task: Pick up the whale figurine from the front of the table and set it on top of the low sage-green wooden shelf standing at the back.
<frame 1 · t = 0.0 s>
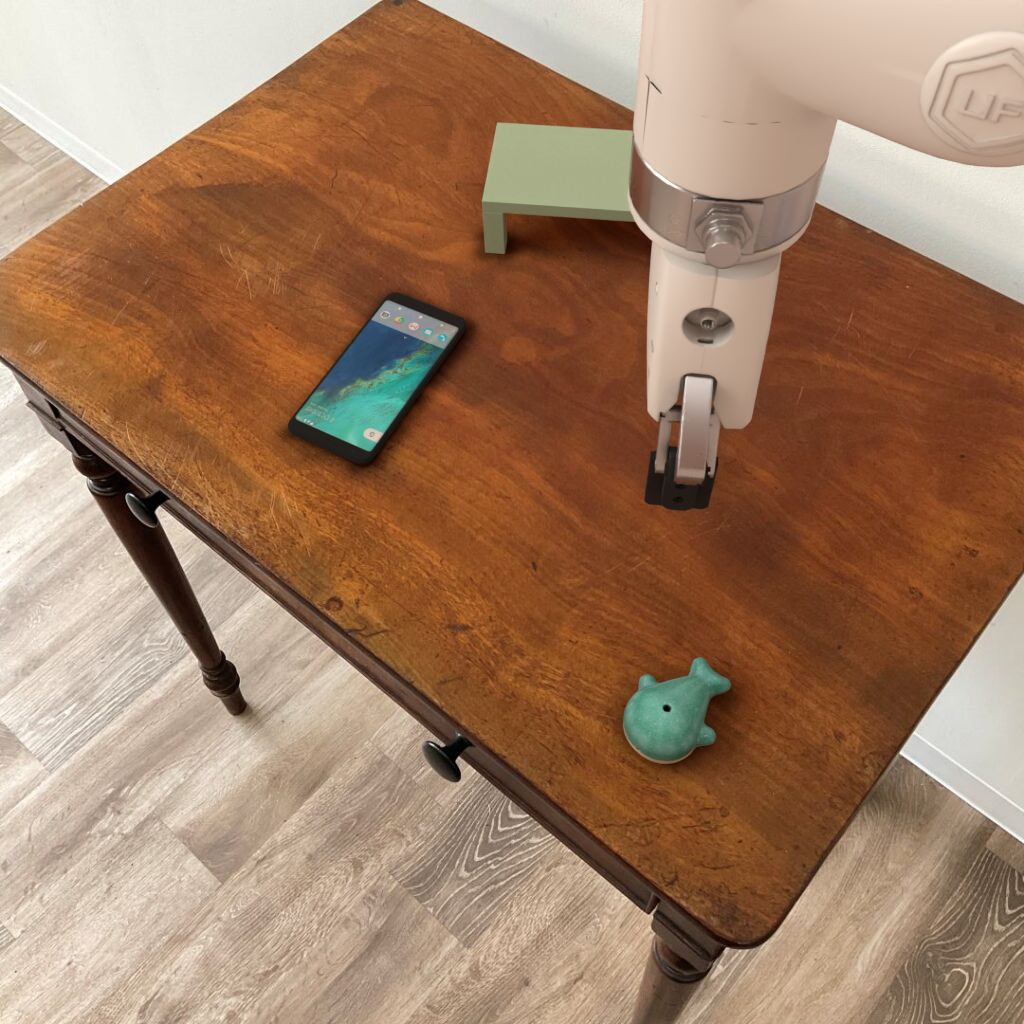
hand: (680, 424, 58), 17 cm above the table, tool pointing down, fingers open, 9 cm apart
rack: (589, 219, 90), on the table
whale figurine: (675, 717, 68), on the table
smartphone: (380, 379, 82), on the table
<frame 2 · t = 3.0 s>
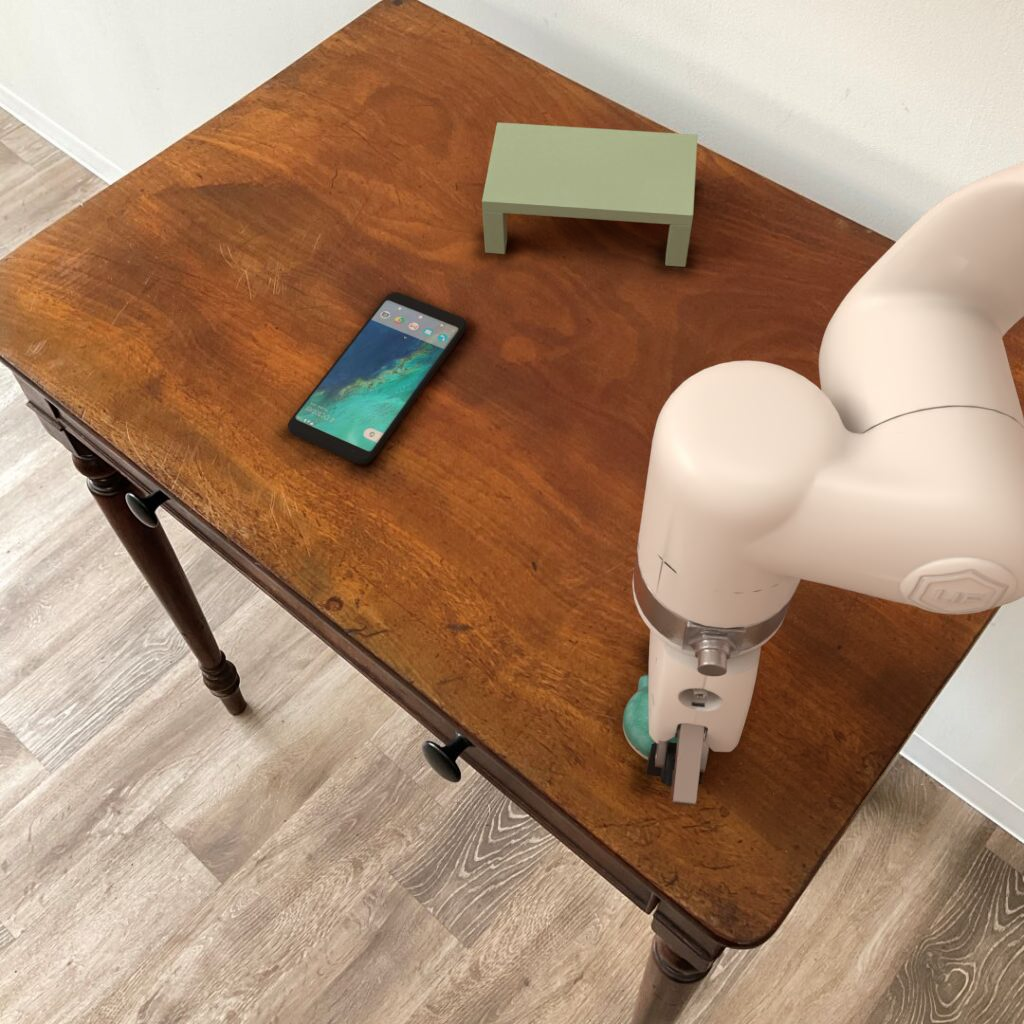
hand: (676, 711, 67), 1 cm above the table, tool pointing down, fingers closed on whale figurine, 7 cm apart
whale figurine: (675, 717, 68), on the table, touching gripper
everything else where it was.
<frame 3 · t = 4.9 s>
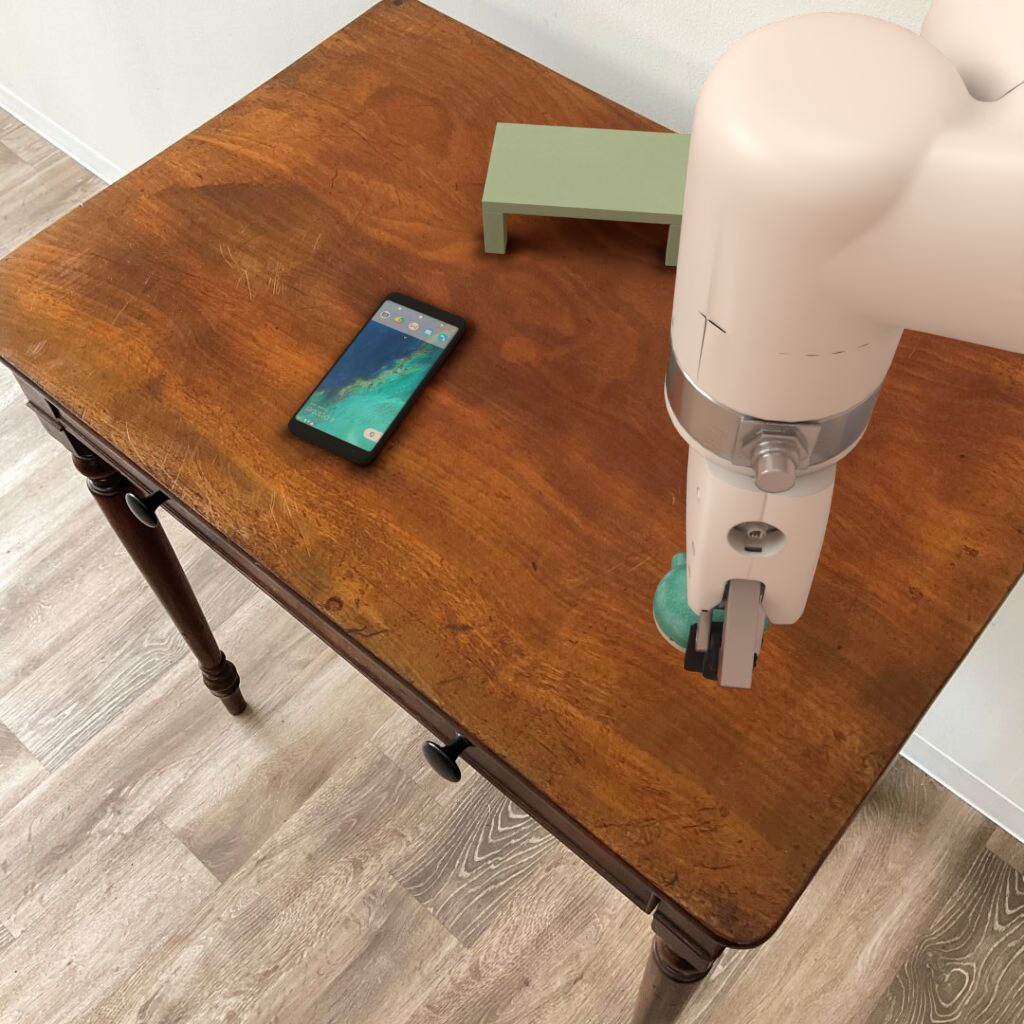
hand: (719, 595, 55), 16 cm above the table, tool pointing down, fingers closed on whale figurine, 7 cm apart
whale figurine: (717, 605, 55), point 15 cm above the table, touching gripper
everything else where it was.
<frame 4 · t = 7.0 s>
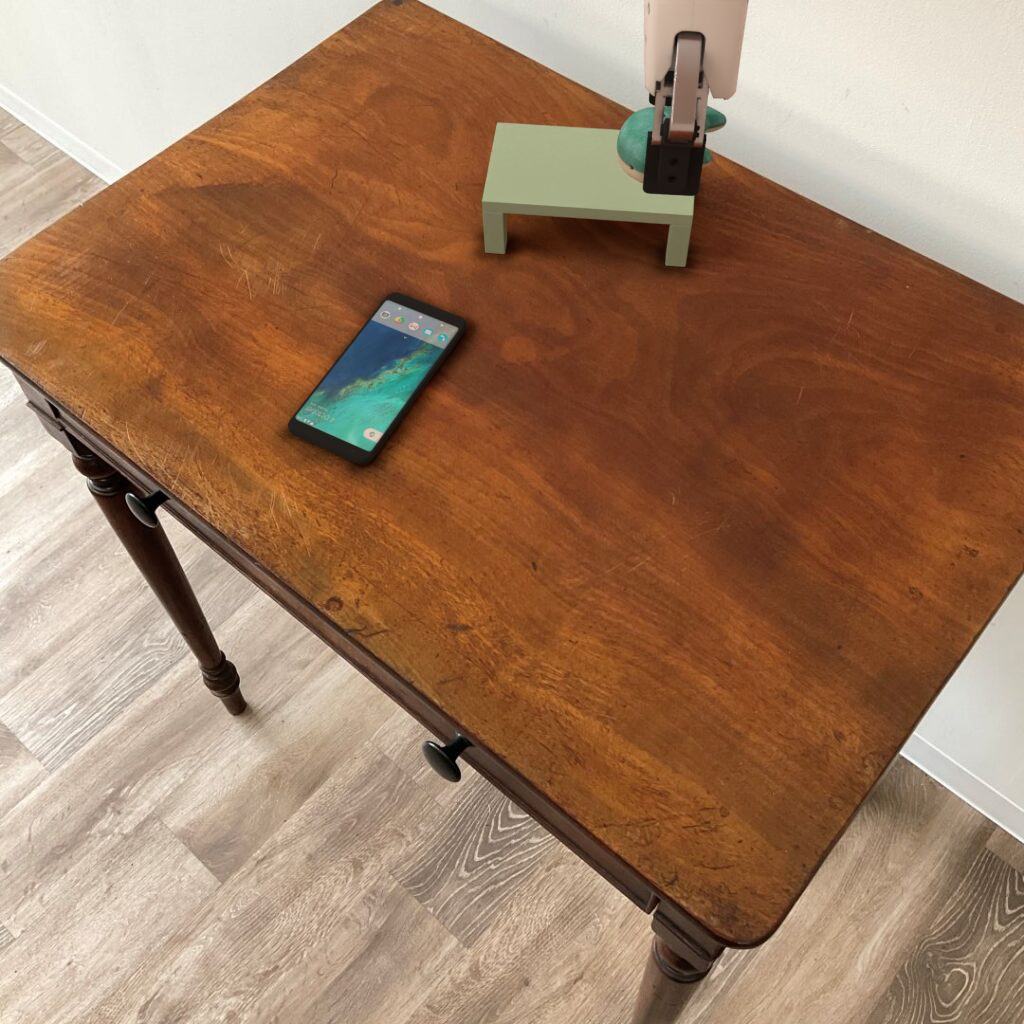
hand: (672, 144, 66), 20 cm above the table, tool pointing down, fingers closed on whale figurine, 7 cm apart
whale figurine: (670, 158, 67), point 19 cm above the table, touching gripper
everything else where it was.
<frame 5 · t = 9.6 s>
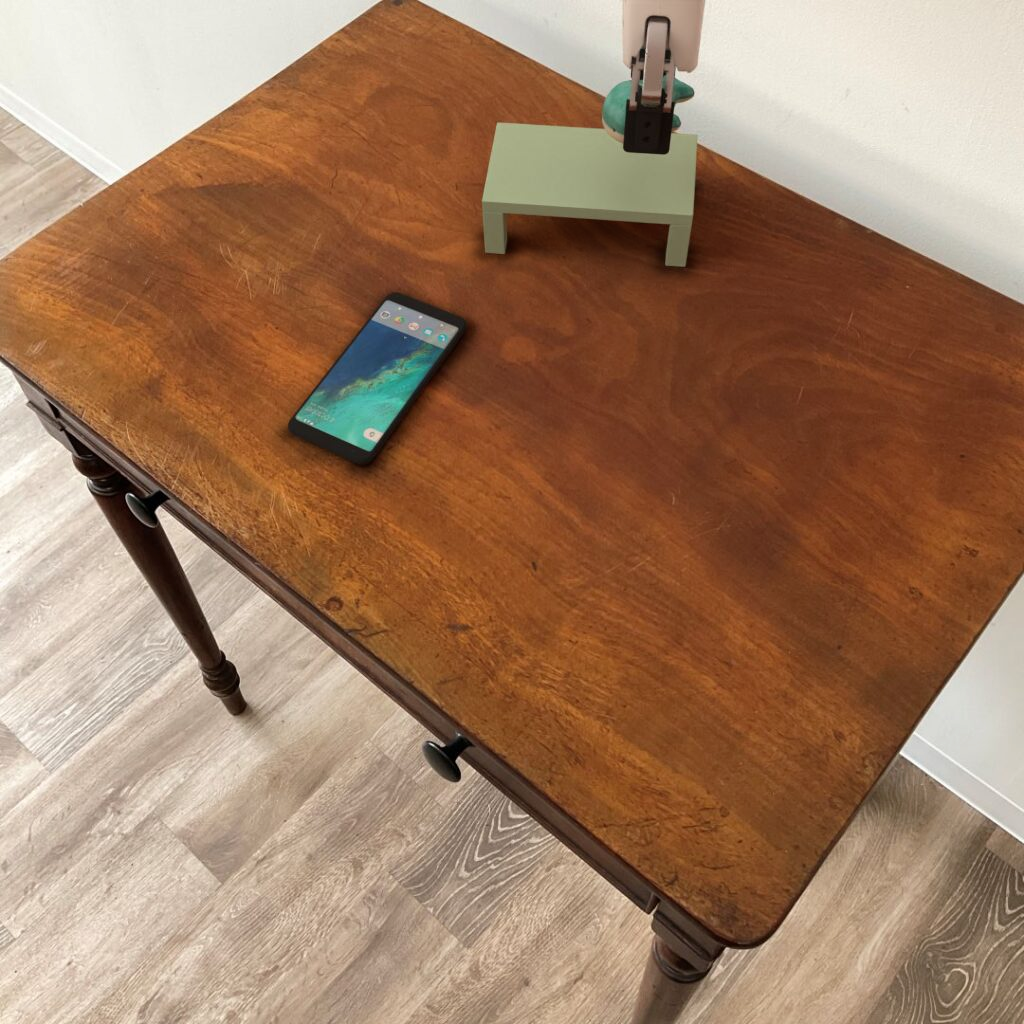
hand: (649, 112, 79), 12 cm above the table, tool pointing down, fingers closed on whale figurine, 7 cm apart
whale figurine: (647, 124, 80), point 11 cm above the table, touching gripper
everything else where it was.
when the fingers open (6 cm above the table, at t = 11.5 s): whale figurine stays where it is, resting on rack.
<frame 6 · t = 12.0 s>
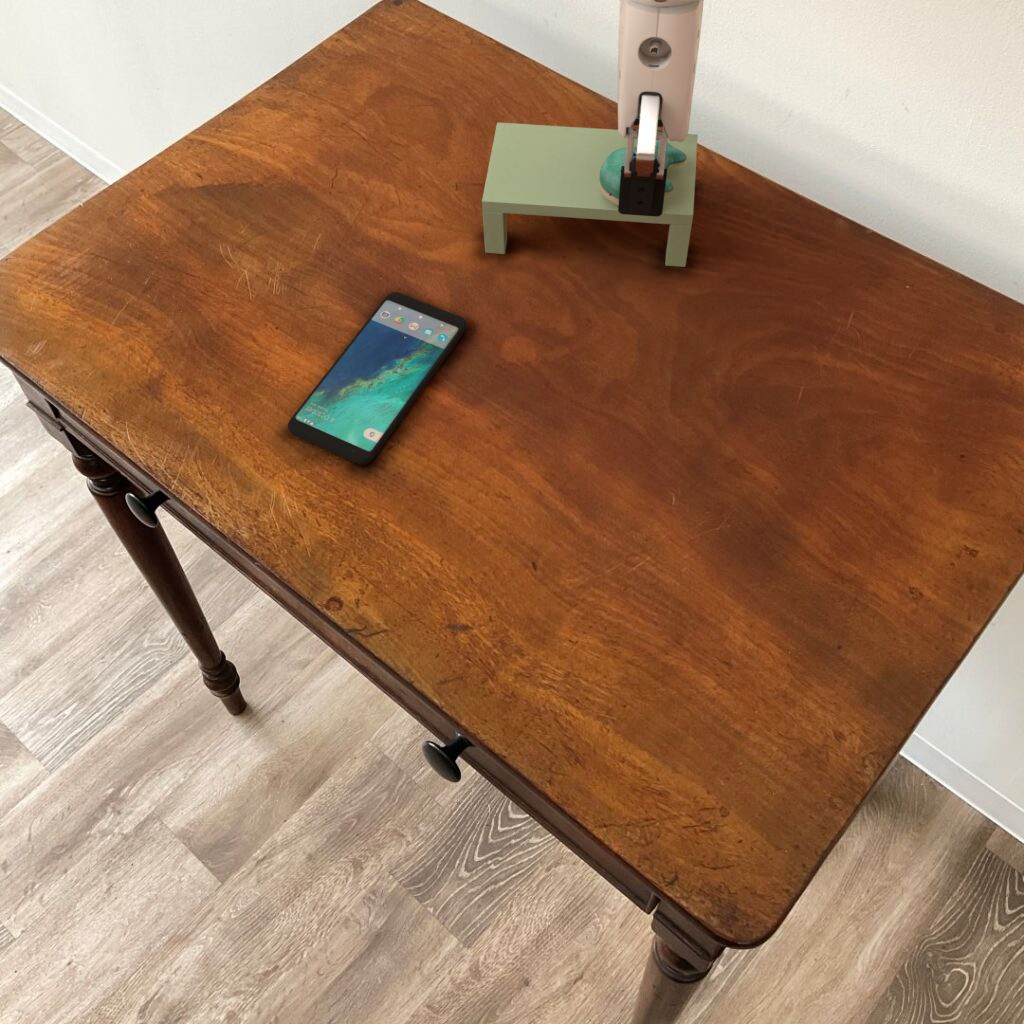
hand: (644, 166, 83), 7 cm above the table, tool pointing down, fingers open, 9 cm apart
whale figurine: (641, 186, 85), point 5 cm above the table, touching rack
everything else where it was.
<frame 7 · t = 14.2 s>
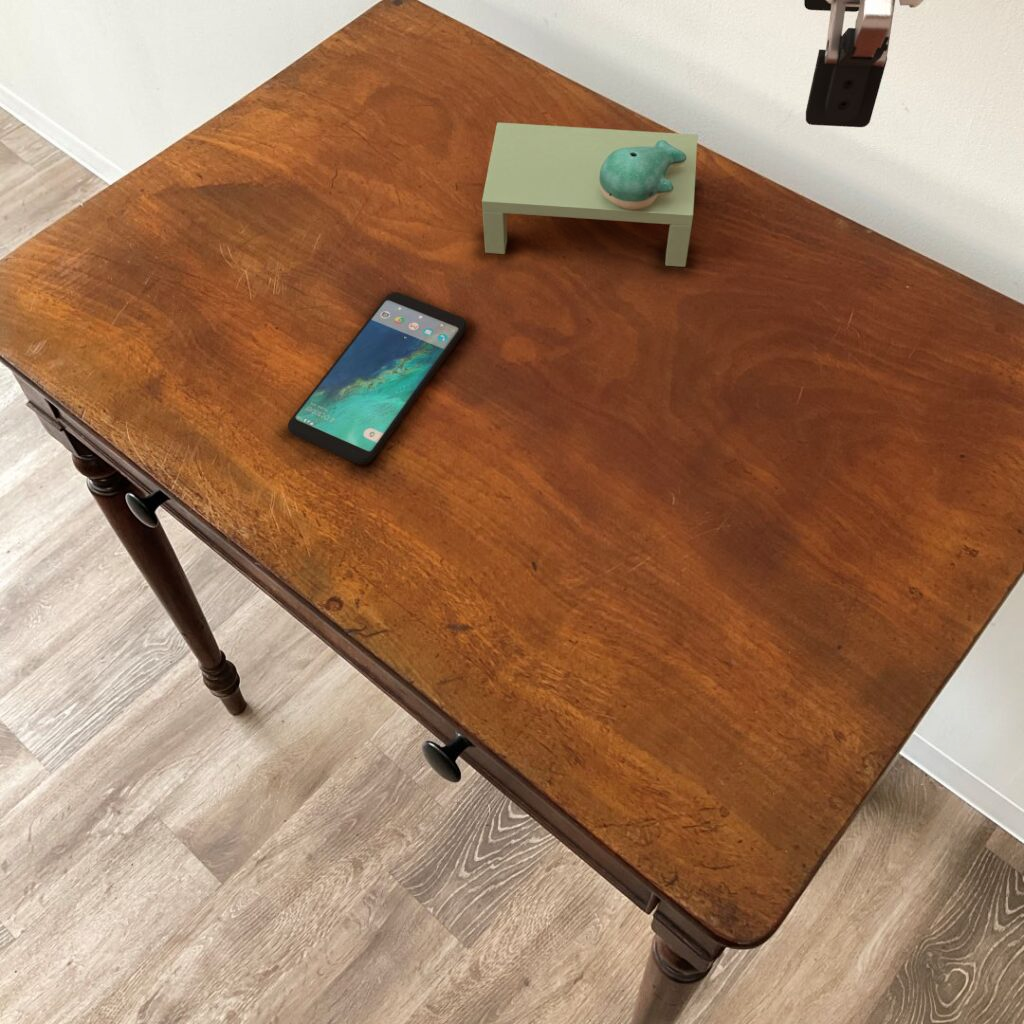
hand: (834, 62, 59), 26 cm above the table, tool pointing down, fingers open, 9 cm apart
nothing on the table moved.
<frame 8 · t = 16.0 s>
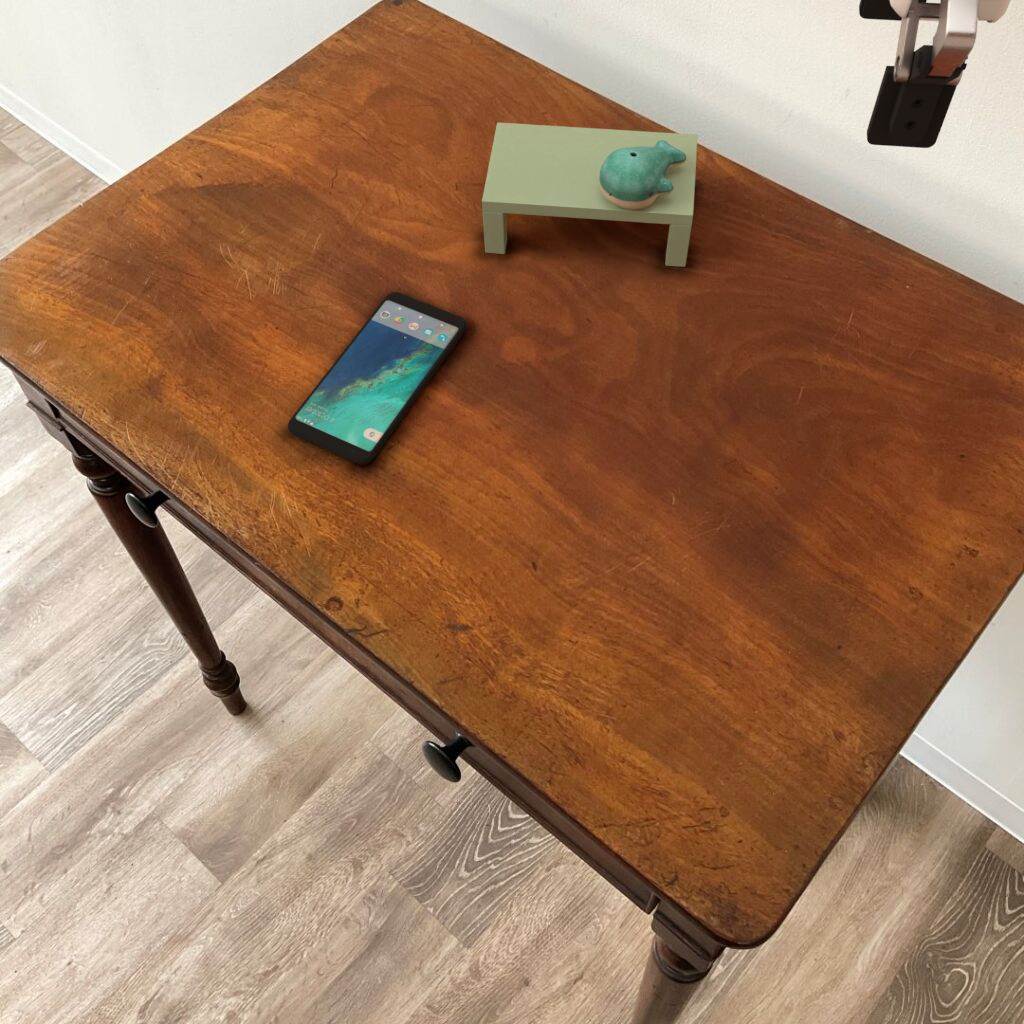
hand: (893, 76, 56), 28 cm above the table, tool pointing down, fingers open, 9 cm apart
nothing on the table moved.
at the end: whale figurine inside the target area on the rack (4.3 cm from its centre), point 5.3 cm above the rack's base; the gripper is holding nothing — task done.
